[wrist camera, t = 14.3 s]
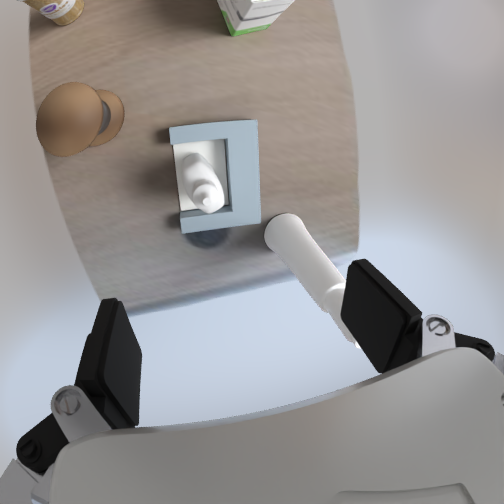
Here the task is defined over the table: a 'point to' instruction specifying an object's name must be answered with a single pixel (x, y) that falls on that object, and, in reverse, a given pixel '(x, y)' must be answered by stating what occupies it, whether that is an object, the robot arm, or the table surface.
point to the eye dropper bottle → (202, 183)
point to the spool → (78, 118)
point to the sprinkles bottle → (58, 9)
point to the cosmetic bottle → (308, 265)
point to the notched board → (221, 172)
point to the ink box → (251, 14)
